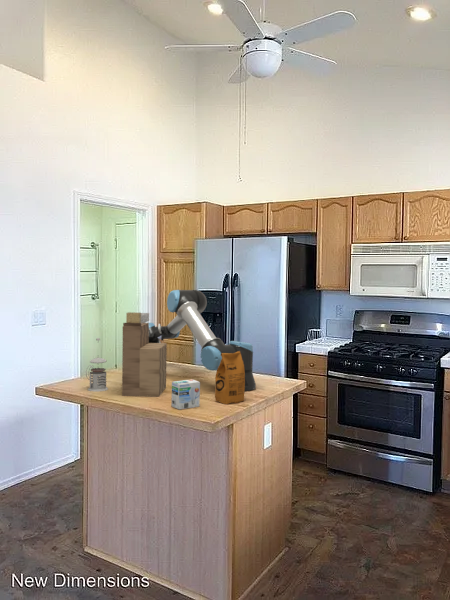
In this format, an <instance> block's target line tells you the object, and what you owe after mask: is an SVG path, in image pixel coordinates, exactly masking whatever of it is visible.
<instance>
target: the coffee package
mask: <svg viewBox="0 0 450 600" xmlns="http://www.w3.org/2000/svg"><path fill="white" fill-rule="evenodd" d="M221 356H222V359H221V362H220V365H219V367H218V369H217V370H216V373H215V377H214V379H215V380H214V381H215V384H214V386H215V388H214V398H215V401H216V402H218V403H219V404H223V405H229V404H238V403H241V402H244V401H245V391H244V390H245V370H244V364H243V360H242V356H241V353H240V351H238V352H236V353H221Z"/></svg>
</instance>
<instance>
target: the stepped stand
mask: <svg viewBox="0 0 450 600" xmlns="http://www.w3.org/2000/svg"><path fill="white" fill-rule="evenodd" d="M149 323H150V322H145V323H143V324H141V323H126V322H123V323H122V324H123V325H122V355H121V357H122V361H121V363H122V364H121V365H122V367H121V368H122V372H121V373H122V379H121V383H122V385H121V390H122V391H121V396H122V397H149V398H151V397H152V398H153V397H154V398H159V397H160V396H161V395H162V393H164V391H165V390H166V388H167V353H168V352H167V350H168V349H167V346H168V345H167V344H168V343H166V342H165V343H164V342H163V343H162V342H161V343H149Z"/></svg>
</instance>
